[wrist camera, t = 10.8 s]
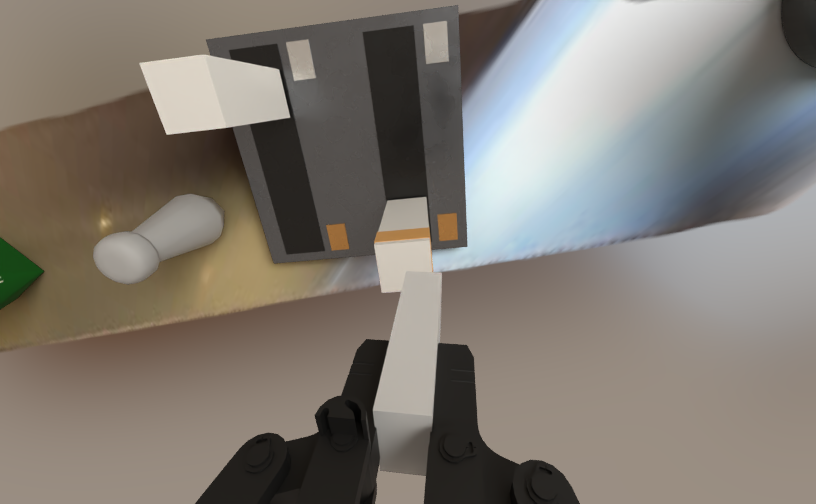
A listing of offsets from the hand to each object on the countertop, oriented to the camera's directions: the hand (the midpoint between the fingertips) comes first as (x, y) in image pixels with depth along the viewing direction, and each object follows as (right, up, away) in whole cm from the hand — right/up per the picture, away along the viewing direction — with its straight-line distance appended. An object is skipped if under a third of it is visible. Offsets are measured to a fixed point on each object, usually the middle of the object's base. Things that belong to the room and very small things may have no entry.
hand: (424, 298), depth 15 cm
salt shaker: (-24, +6, +24) cm, 34 cm away
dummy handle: (-14, +16, +16) cm, 27 cm away
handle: (-1, +6, +21) cm, 22 cm away
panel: (-6, +12, +21) cm, 25 cm away
